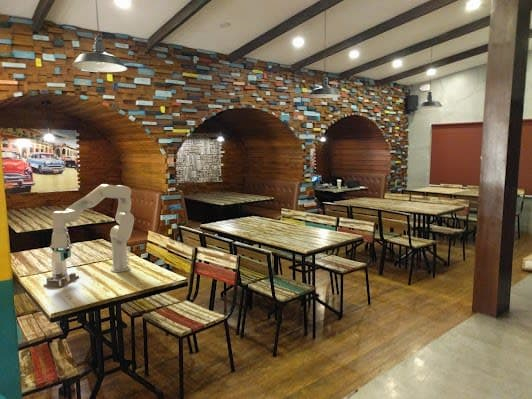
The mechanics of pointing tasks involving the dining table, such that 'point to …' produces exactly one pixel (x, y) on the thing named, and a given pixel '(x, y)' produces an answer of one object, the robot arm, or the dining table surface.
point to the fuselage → (59, 255)
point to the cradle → (60, 280)
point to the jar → (59, 267)
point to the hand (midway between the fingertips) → (61, 258)
